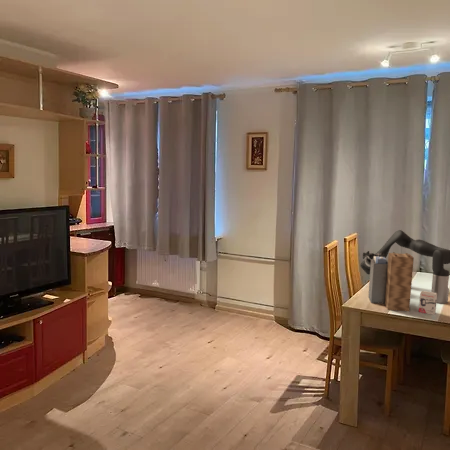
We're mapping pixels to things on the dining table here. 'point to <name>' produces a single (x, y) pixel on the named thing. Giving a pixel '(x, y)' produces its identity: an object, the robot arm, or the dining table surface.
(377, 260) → the cream rectangular block
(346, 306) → the dining table surface
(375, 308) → the dining table surface
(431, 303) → the ink box
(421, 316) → the dining table surface
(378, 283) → the tray
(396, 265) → the stand
